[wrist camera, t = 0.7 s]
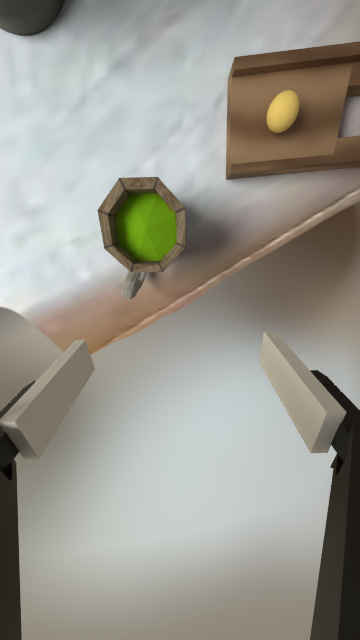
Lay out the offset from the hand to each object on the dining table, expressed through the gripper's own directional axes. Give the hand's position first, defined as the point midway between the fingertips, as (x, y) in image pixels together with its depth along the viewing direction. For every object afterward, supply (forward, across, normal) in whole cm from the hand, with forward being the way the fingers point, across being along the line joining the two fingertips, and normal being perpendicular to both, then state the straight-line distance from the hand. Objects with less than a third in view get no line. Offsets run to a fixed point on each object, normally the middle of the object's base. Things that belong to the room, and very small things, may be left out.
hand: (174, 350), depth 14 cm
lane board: (+25, +19, +20) cm, 38 cm away
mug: (+25, -5, +6) cm, 26 cm away
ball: (+21, +14, +20) cm, 32 cm away
